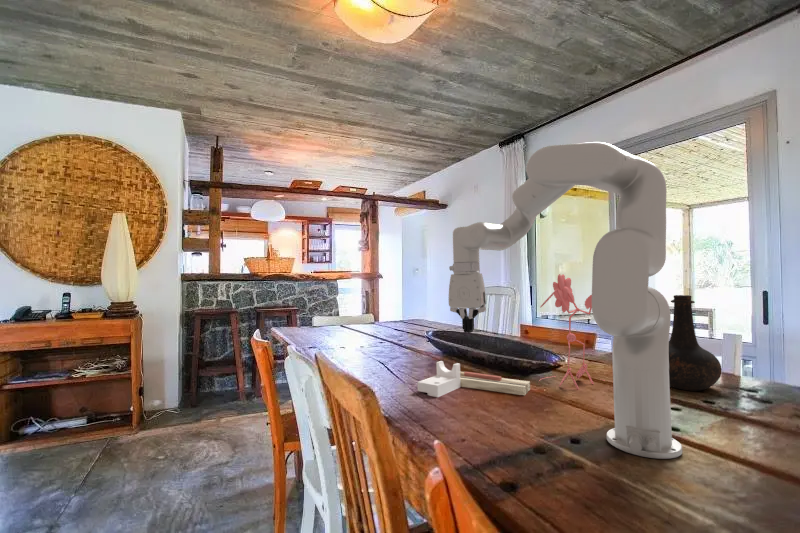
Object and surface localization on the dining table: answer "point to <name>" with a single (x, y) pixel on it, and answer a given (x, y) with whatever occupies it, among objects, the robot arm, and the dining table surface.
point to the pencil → (481, 376)
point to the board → (496, 385)
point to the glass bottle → (689, 352)
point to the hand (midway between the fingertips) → (468, 332)
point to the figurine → (563, 299)
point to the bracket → (441, 380)
